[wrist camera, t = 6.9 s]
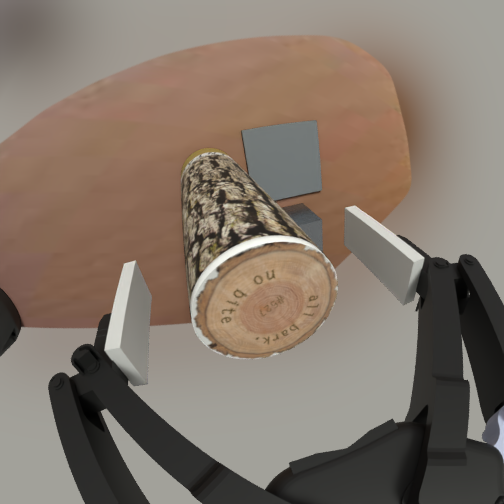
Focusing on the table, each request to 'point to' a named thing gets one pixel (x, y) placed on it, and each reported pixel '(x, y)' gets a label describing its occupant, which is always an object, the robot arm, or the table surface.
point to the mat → (284, 158)
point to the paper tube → (248, 263)
